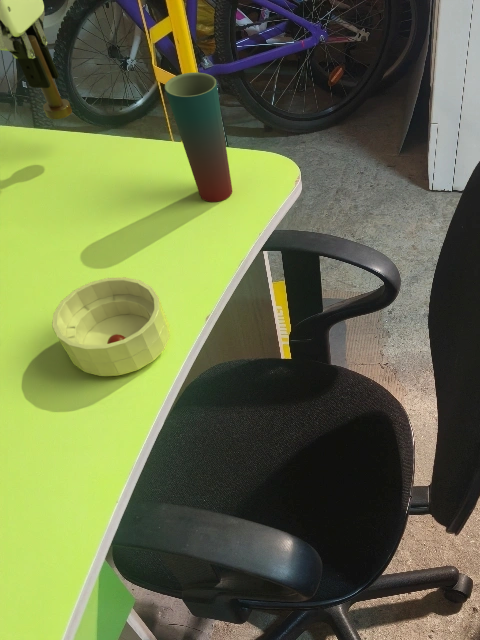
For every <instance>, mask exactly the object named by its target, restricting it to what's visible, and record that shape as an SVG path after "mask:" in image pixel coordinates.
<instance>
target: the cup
mask: <svg viewBox="0 0 480 640" xmlns="http://www.w3.org/2000/svg"><path fill="white" fill-rule="evenodd" d="M164 91H165V94H166V96H167V100H168V102H169V106H170V108H171V112H172V114H173V118H174V121H175V124H176V127H177V130H178V134H179V137H180V139H181V142H182V145H183V148H184V151H185V154H186V157H187V161H188V163H189V166H190V170H191V172H192V176H193V178H194V181H195V185H196V188H197V191H198V194H199V197H200V198H201V199H202V200H203V201H206V202H209V203H210V202H211V203H217V202H222V201H224V200H227V199H228V198H230V197H231V196H232V194H233V185H232V177H231V172H230V165H229V157H228V151H227V145H226V138H225V137H226V136H225V131H224V123H223V116H222V110H221V104H220V97H219V89H218V83H217V79H216V78H215V77H214V76H213V75H211V74H208V73H205V72H195V71H194V72H186V73H182V74H181V73H180V74H177V75H176V76H174V77H172V78H170V79H168V80H167V81H166V82H165V84H164Z"/></svg>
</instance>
